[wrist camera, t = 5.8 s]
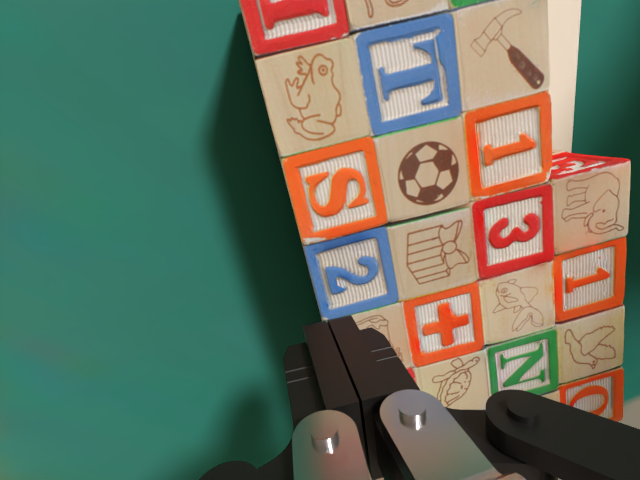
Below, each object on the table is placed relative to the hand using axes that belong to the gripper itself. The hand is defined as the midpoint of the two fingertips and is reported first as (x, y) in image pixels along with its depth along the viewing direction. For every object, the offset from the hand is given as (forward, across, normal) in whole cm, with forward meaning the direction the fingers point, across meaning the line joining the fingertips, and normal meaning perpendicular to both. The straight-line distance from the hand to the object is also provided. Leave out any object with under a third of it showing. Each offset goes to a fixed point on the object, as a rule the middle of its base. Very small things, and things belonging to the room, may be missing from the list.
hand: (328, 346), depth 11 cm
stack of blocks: (+5, 0, -1) cm, 5 cm away
